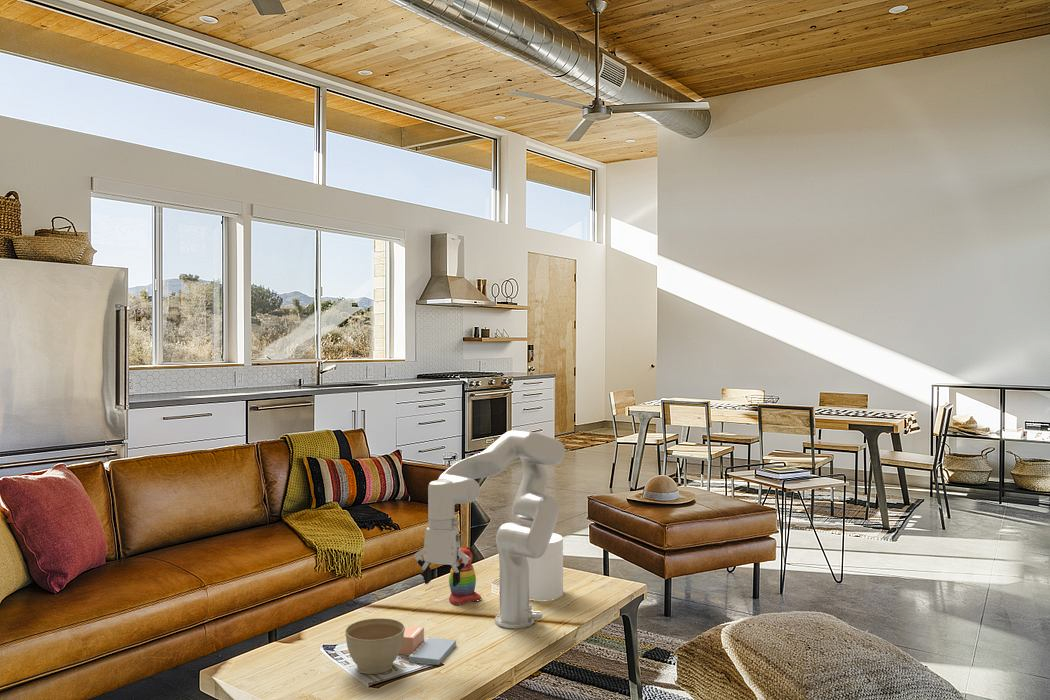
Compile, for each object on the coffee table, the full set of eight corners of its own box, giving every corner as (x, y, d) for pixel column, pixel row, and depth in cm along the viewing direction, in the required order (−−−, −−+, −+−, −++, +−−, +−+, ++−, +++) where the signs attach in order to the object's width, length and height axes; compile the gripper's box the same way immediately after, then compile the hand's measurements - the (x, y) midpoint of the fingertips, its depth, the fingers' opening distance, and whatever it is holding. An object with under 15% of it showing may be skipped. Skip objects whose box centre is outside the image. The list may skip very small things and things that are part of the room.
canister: (572, 592, 269) (572, 536, 269) (543, 604, 257) (543, 546, 257) (537, 583, 280) (537, 529, 279) (508, 594, 268) (508, 538, 267)
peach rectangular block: (424, 644, 224) (423, 627, 224) (413, 655, 216) (413, 637, 216) (408, 642, 225) (408, 625, 225) (397, 653, 217) (397, 636, 217)
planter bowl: (393, 682, 199) (393, 641, 199) (335, 678, 202) (335, 637, 202) (412, 657, 215) (412, 619, 215) (359, 653, 218) (359, 616, 218)
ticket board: (456, 645, 224) (455, 639, 224) (439, 664, 210) (438, 659, 210) (427, 642, 226) (427, 637, 226) (408, 661, 212) (408, 656, 212)
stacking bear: (454, 606, 256) (454, 554, 256) (442, 597, 265) (442, 547, 265) (483, 600, 261) (483, 549, 261) (470, 592, 270) (470, 542, 270)
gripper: (474, 522, 219) (474, 582, 219) (418, 518, 224) (418, 577, 224) (465, 528, 212) (466, 590, 212) (408, 525, 216) (408, 585, 217)
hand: (441, 583), depth 218 cm, fingers open, 8 cm apart
